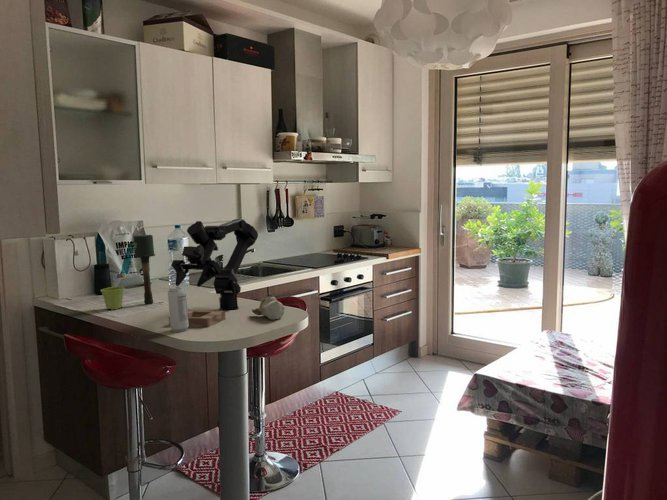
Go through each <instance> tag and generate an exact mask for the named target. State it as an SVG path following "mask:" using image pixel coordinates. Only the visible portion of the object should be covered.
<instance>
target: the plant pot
mask: <svg viewBox="0 0 667 500" xmlns="http://www.w3.org/2000/svg"><path fill="white" fill-rule="evenodd" d="M124 290H125V286H111V287H106V288H102V289H100V290H99V291H100V292H101V294H102V296H103V299H104V304H105V308H106V310H107V309H111V310H113V309H116V310H119V309H118V308H120V309H122V308H123V298H124V295H123V294H124ZM121 307H122V308H121Z"/></svg>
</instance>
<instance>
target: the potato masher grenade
mask: <svg viewBox="0 0 667 500" xmlns="http://www.w3.org/2000/svg"><path fill="white" fill-rule="evenodd" d="M133 247H134V258H140V263H141V270H142V278H143V289H144V294H143V297H144V299H143V300H144V301H143V302H144V305H146V304H149V305H153V302H154V299H153V294H152V287H151V286H152V285H151V276H150V275H151V274H150V272H151V270H150V258H151V257H155V256H156V253H155V246H154V236H153V234H143V235H134V236H133Z"/></svg>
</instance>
